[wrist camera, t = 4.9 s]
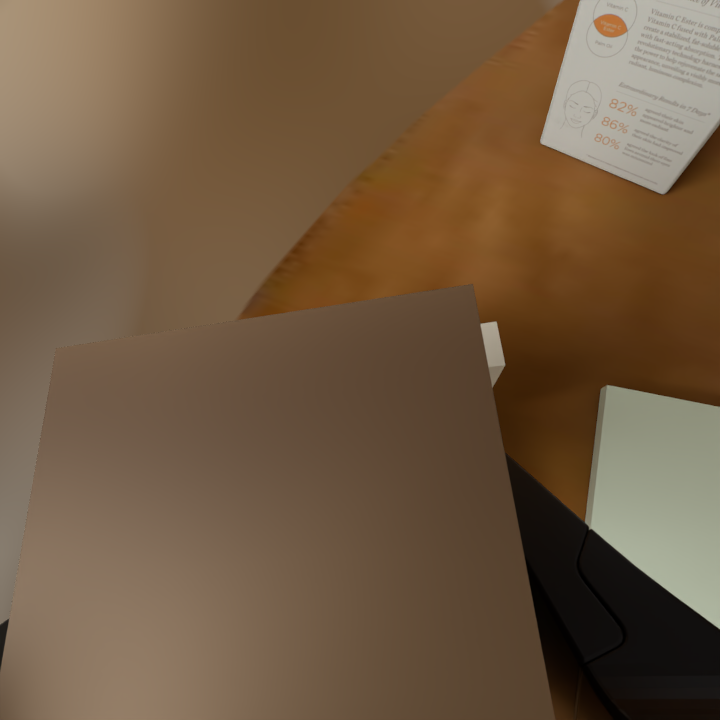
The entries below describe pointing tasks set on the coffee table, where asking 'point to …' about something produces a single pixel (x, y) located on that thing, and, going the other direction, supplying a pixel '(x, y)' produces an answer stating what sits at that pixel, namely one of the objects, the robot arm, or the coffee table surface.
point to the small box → (638, 87)
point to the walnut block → (276, 527)
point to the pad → (660, 491)
